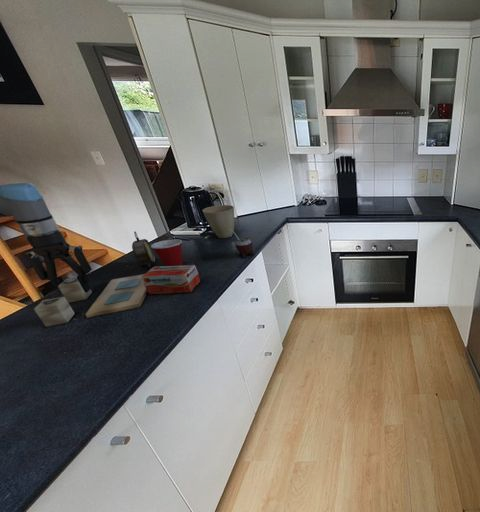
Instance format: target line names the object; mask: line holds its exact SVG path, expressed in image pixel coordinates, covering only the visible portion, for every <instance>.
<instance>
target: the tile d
mask: <svg viewBox="0 0 480 512" xmlns="http://www.w3.org/2000/svg"><path fill="white" fill-rule="evenodd" d="M33 310H34V312H35V313H36V314H37V316H38V318H39V319H40V320H41V322H42V323H43V325H44V326H45V327H46V328H48V327H52V326H57V325H61V324H67V323H69V322H70V320H71V319H72V318H73V316H74V315H75V311H74V310H73V308H72V306H71V305H70V302H69V303H68V302H67V300H66V298H65V297H64V296H59V297H53V298H47V299H43V300H41V302H39V303H38V304H37V305H36V306H35V307H34V308H33Z"/></svg>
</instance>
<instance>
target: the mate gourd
mask: <svg viewBox="0 0 480 512" xmlns="http://www.w3.org/2000/svg"><path fill="white" fill-rule="evenodd" d="M227 230H229V229H227ZM229 231H231V232H233V235H234V236H235V237H236V239H237V240H236V242H235V248H236V251H238V252H239V256H242V258H243V259H245V258H246V257H248V256H251V257H252V256H254V254H253V247H254V245H253V242H252V240H251V239H250V238H248V237H242V238H241V237H240V238H239V237H238V235H237V234H236V232H235V231H232V230H229Z"/></svg>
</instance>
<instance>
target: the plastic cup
mask: <svg viewBox="0 0 480 512" xmlns="http://www.w3.org/2000/svg"><path fill="white" fill-rule="evenodd" d="M182 243H183V240H182V239H164V240H161V241H157V242H154V243H151V244H150V245H151V247H152V249H153V252H154V253H155V254H156V255H157V256H158V258H159V259H160V261H161V263H162V264H163V266H184V263H183V262H184V261H183V253H182V252H183V251H182Z"/></svg>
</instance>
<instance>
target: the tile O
mask: <svg viewBox="0 0 480 512" xmlns="http://www.w3.org/2000/svg"><path fill="white" fill-rule="evenodd" d="M58 287H59V288H58V289H60V290H61V291H60V290H59V291H60V293H61V292H62V293H61V294H63V295H64V296H63V295H62V296H63V297H65V298H66V300H67V302H68V303H69V304H70V303H73V302H78V301H84V300H88V298H90V296H91V294H92V293H93V291H92V288H91V289H90V290H89V291H88V292H86V293H85V291H84V290H83V288H82V286H81V284H80V283H79V281H78V279H77V278H76V277H71V278H65V279H63V282H62V283H61V284H60V285H59V286H58Z"/></svg>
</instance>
